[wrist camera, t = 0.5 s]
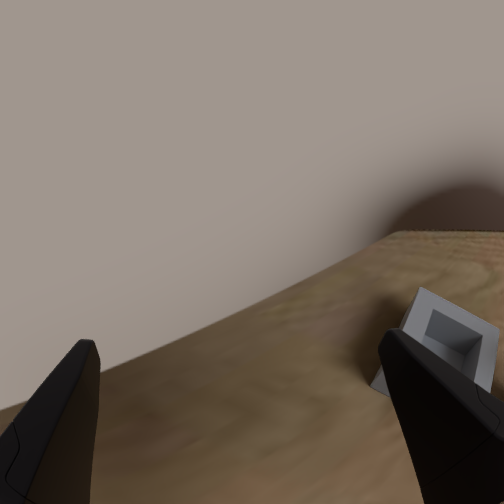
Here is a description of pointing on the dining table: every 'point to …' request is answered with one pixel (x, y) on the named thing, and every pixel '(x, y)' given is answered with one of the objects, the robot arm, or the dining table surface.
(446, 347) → the socket
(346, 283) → the dining table surface
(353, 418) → the dining table surface
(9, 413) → the dining table surface
